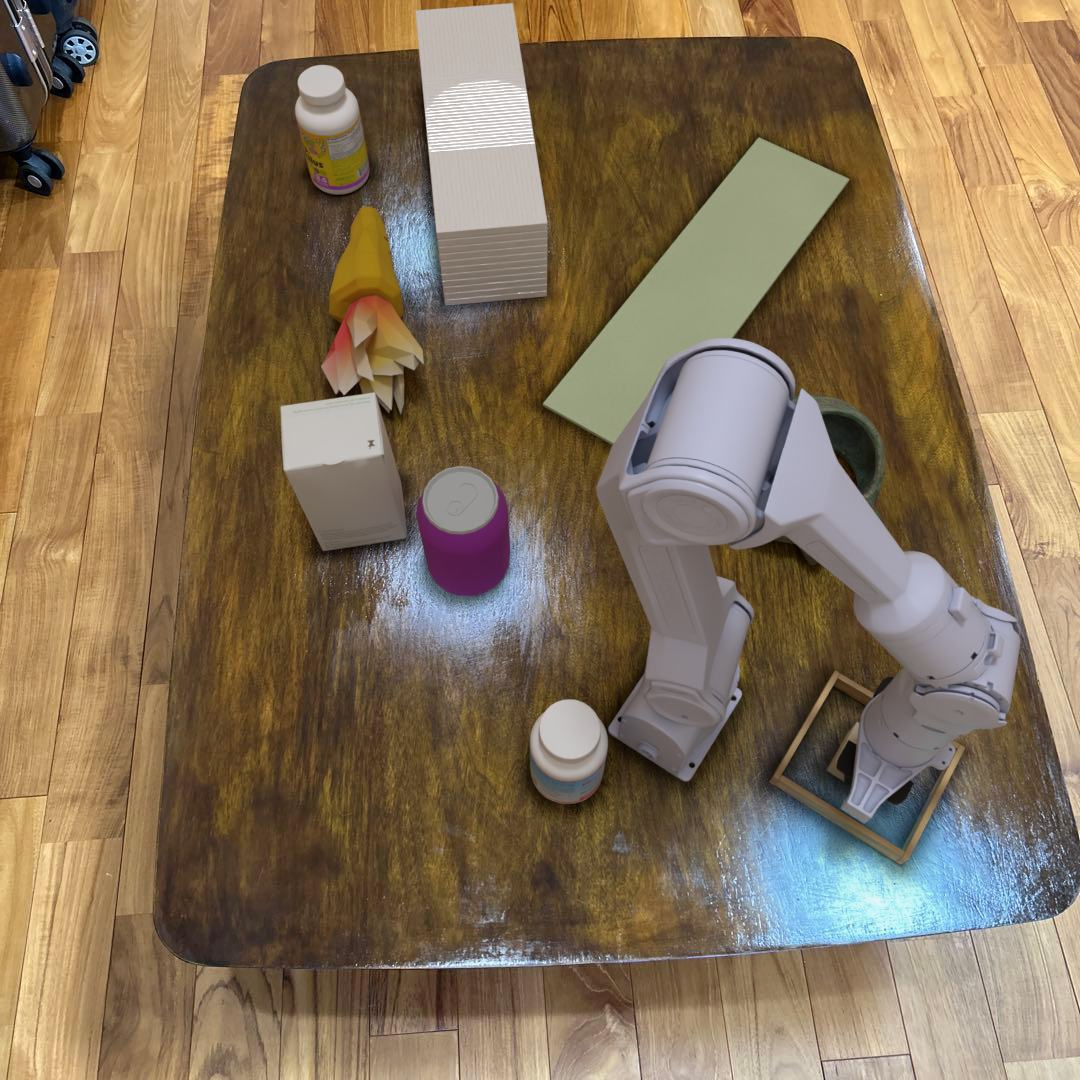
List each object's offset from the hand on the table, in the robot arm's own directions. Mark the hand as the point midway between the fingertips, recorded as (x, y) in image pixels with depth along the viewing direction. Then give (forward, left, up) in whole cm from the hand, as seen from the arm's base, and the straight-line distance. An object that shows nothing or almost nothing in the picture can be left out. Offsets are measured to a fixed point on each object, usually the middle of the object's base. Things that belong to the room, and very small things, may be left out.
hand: (868, 762), depth 89 cm
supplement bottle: (+28, +78, -2) cm, 83 cm away
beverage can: (-3, +38, -2) cm, 39 cm away
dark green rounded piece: (+20, +17, -2) cm, 26 cm away
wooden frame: (0, 0, -2) cm, 2 cm away
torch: (+14, +62, -2) cm, 64 cm away
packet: (0, 0, -2) cm, 2 cm away
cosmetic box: (-5, +50, -2) cm, 50 cm away
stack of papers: (+35, +64, -2) cm, 73 cm away
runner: (+37, +37, -2) cm, 52 cm away
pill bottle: (-14, +20, -2) cm, 25 cm away
